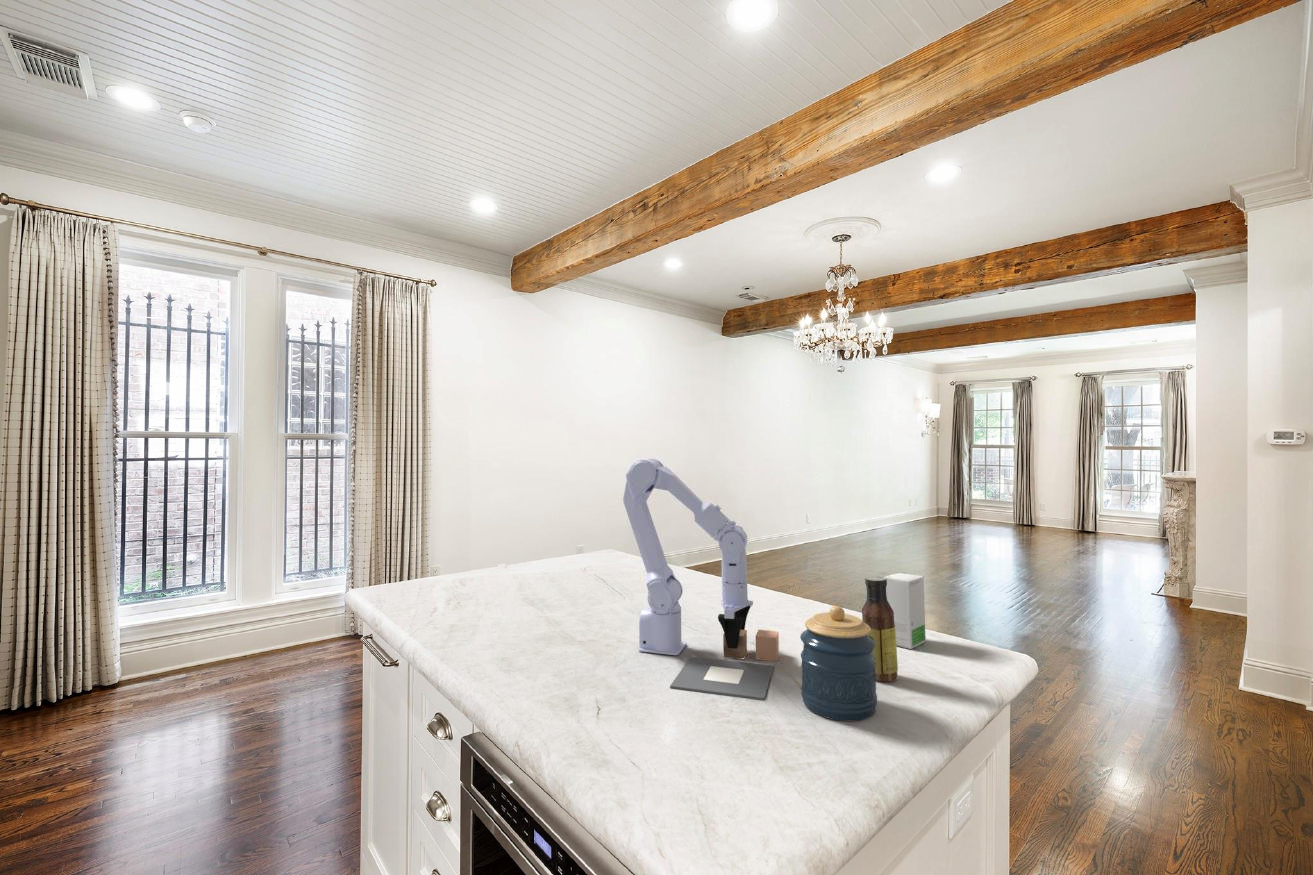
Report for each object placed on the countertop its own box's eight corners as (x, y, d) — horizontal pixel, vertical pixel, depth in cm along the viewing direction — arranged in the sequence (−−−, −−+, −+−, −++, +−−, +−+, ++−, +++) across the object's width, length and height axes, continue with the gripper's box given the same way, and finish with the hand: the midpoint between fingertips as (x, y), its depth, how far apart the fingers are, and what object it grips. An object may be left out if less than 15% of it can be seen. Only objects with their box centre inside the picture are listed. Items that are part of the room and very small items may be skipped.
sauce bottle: (896, 673, 113) (894, 575, 113) (899, 685, 107) (897, 582, 107) (862, 669, 115) (860, 573, 115) (863, 681, 109) (861, 580, 110)
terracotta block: (755, 658, 121) (755, 636, 122) (758, 651, 126) (758, 629, 126) (776, 661, 120) (776, 638, 120) (778, 653, 124) (778, 631, 124)
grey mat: (670, 687, 107) (670, 685, 107) (690, 657, 122) (690, 655, 122) (764, 700, 101) (764, 697, 101) (773, 667, 117) (773, 664, 117)
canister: (869, 730, 90) (867, 621, 91) (791, 711, 97) (790, 610, 98) (883, 699, 101) (881, 602, 102) (813, 683, 108) (811, 593, 109)
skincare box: (911, 650, 125) (909, 581, 126) (882, 642, 130) (881, 576, 131) (926, 641, 131) (925, 575, 131) (899, 634, 136) (898, 571, 136)
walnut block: (723, 657, 123) (723, 634, 123) (727, 650, 127) (727, 628, 127) (743, 659, 121) (743, 636, 121) (746, 652, 126) (746, 630, 126)
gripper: (747, 590, 116) (748, 655, 116) (756, 574, 130) (757, 633, 130) (714, 588, 119) (715, 651, 118) (727, 573, 132) (728, 630, 132)
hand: (735, 641), depth 124 cm, fingers open, 7 cm apart
